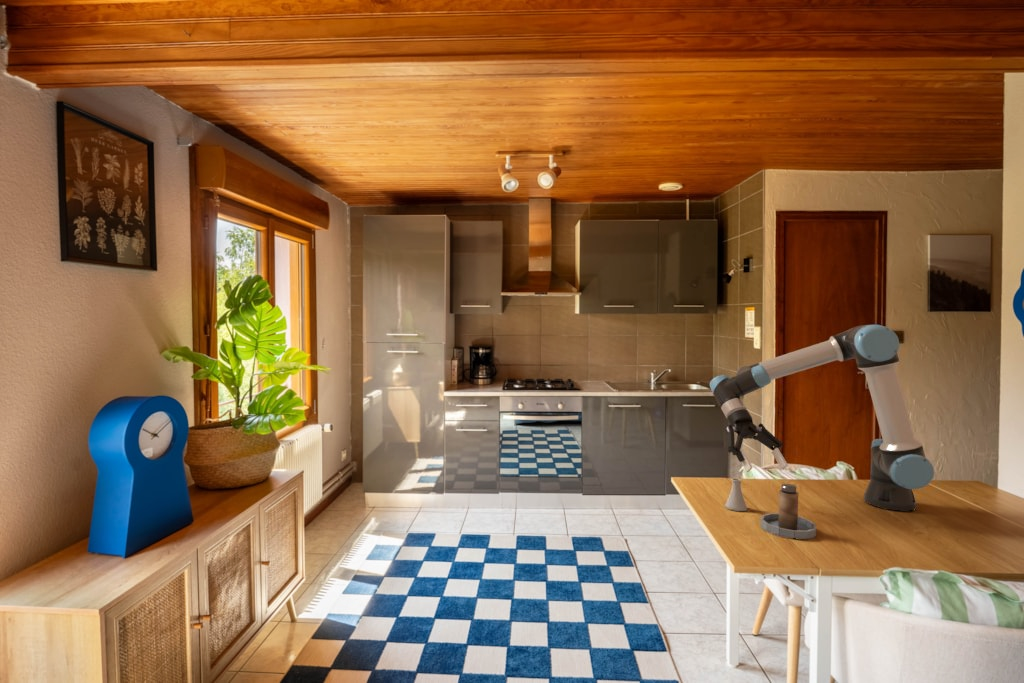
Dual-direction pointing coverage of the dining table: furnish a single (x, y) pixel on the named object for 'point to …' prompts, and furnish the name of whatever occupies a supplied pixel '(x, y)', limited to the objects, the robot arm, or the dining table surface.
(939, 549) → the dining table surface
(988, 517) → the dining table surface
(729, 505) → the flask
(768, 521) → the round grey tray
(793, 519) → the pepper mill
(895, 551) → the dining table surface
